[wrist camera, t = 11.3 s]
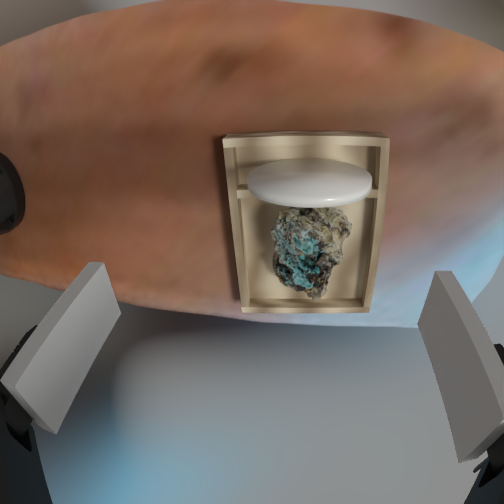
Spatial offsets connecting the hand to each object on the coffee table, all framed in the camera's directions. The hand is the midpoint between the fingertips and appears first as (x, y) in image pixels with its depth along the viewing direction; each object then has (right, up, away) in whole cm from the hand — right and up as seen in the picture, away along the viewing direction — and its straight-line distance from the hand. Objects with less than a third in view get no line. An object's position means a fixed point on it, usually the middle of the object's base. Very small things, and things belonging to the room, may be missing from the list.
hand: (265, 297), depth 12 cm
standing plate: (+6, +12, +24) cm, 28 cm away
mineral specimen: (+7, +3, +29) cm, 30 cm away
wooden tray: (+7, +5, +28) cm, 30 cm away
